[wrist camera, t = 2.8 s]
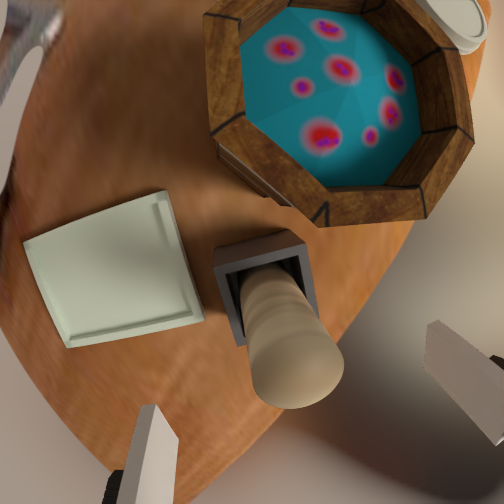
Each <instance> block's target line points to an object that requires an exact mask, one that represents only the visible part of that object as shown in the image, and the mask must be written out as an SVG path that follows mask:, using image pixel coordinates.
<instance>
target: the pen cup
mask: <svg viewBox="0 0 504 504" xmlns="http://www.w3.org/2000/svg"><path fill="white" fill-rule="evenodd" d="M277 260H281V261H282V263H283V264H284V266H285V267H286V269H287V270H288V272H289V273H290V275H291V276H292V278H293V279H294V281H295V282H296V284H297V286H298V287H299V289H300V290H301V292H302V293H303V295H304V296H305V298H306V299H307V301H308V302H309V304H310V305H311V307H312V308H313V310H314V312H315V313H316V315H317V316H318V318H319V313H318V307H317V301H316V295H315V290H314V284H313V279H312V273H311V268H310V262H309V257H308V252H307V247H306V243H305V242H304V241H303V240H302V239H300V238H299V237H298V236H297V235H296V234H295V233H293V232H292V231H291V230H290V229H287V230H283V231H280V232H276V233H272V234H268V235H264V236H260V237H256V238H253V239H249V240H245V241H241V242H237V243H233V244H230V245H226V246H222V247H218V248H215V249H214V258H213V271H214V274H215V277H216V281H217V284H218V287H219V291H220V294H221V297H222V300H223V303H224V307H225V310H226V313H227V316H228V319H229V322H230V326H231V329H232V332H233V335H234V338H235V341H236V344H237V347H238V346H242V345H246V344H247V343H246V336H245V330H244V323H243V316H242V310H241V303H240V296H239V289H238V282H237V273H238V271H239V270H243V269H247V268H251V267H255V266H258V265H262V264H266V263H270V262H273V261H277Z"/></svg>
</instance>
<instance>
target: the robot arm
mask: <svg viewBox="0 0 504 504" xmlns="http://www.w3.org/2000/svg"><path fill="white" fill-rule="evenodd" d="M424 369H425V370H426V371H427V372H428V373H429V374H430V375H431V376H432V377H433V378H434V379H435V380H436V381H437V382H438V383H439V384H440V386H442V388H443V389H444V390H445V391H446V392H447V393H448V394H449V395H450V396H451V397H452V398H453V399H454V400H455V401H456V402H457V404H459V406H460V407H461V408H462V409H463V410H464V411H465V412H466V413H467V414H468V416H469V417H470V418H471V419H472V420H473V421H474V422H475V423H476V424H477V426H478V427H479V428H480V429H481V430H482V431H483V432H484V433H485V434H486V436H487V437H488V438H489V439H490V440H491V441H492V442H493V443H494V445H495V446H497V445H498V444H499V443H500V442H501V441H503V440H504V359H503V358H501V357H498V356H495V355H493V356H491V357H490V358H488V357H486V356H485V355H484V354H483V353H481V352H480V351H479V350H478V349H476V348H475V347H474V346H472V345H471V344H470V343H468V342H467V341H466V340H464V339H463V338H462V337H461V336H459V335H458V334H457V333H456V332H454V331H453V330H451V329H450V328H449V327H448V326H446V325H445V324H443V323H442V322H441V321H439V320H437V321H435V322H433V323H431V324H428V325H427V332H426V346H425V357H424ZM178 442H179V439H178V438H177V436H176V435H175V433H174V432H173V430H172V429H171V427H170V426H169V424H168V423H167V421H166V419H165V418H164V416H163V414H162V413H161V411H160V409H159V408H158V406H157V404H149V405H141V409H140V412H139V416H138V419H137V423H136V426H135V430H134V434H133V437H132V441H131V445H130V449H129V453H128V456H127V460H126V464H125V468H124V470H114V472H113V473H112V474H111V476H110V477H109V478H108V482H107V486H106V490H105V493H104V498H103V501H102V504H173V492H174V481H175V471H176V461H177V451H178Z"/></svg>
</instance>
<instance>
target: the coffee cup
mask: <svg viewBox="0 0 504 504" xmlns="http://www.w3.org/2000/svg"><path fill="white" fill-rule="evenodd" d="M414 1H416V2H417V3H418V4H419V5H420V6H421V7H422V8H423V9H424V10H425V11H426V12H427V14H428V15H429V16H430V17H431V18H432V19H433V20H434V21H435V22H436V23H437V24H438V25H439V27H440V28H441V29H442V30H443V31H444V32H445V33H446V35H447V36H448V37H449V38H450V39H451V40H452V42H453V43H454V44H455V45H456V47H457V48H458V49H459V53H460V54H462V55H466V54H470V53H472V52H473V51H474V50H476V49H477V48H478V47H479V46H480V44H481V43H482V42H483V41H484V40H485V38H486V36H487V23H486V20H485V17H484V14H483V12H482V10H481V8H480V6H479V4H478V2H477V1H476V0H414Z"/></svg>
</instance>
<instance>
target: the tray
mask: <svg viewBox="0 0 504 504" xmlns="http://www.w3.org/2000/svg"><path fill="white" fill-rule="evenodd" d="M23 245H24V248H25V251H26V254H27V257H28V260H29V263H30V266H31V269H32V271H33V274H34V277H35V279H36V282H37V285H38V287H39V290H40V292H41V294H42V297H43V299H44V302H45V304H46V306H47V308H48V311H49V313H50V315H51V317H52V319H53V321H54V324H55V326H56V328H57V330H58V332H59V334H60V336H61V338H62V340H63V342H64V344H65V346H66V347H67V348H72V347H78V346H84V345H90V344H96V343H101V342H107V341H112V340H117V339H123V338H128V337H133V336H138V335H143V334H148V333H152V332H157V331H162V330H166V329H171V328H176V327H180V326H184V325H189V324H193V323H198V322H202V321H205V311H204V308H203V305H202V302H201V299H200V296H199V293H198V290H197V287H196V284H195V281H194V278H193V275H192V272H191V269H190V266H189V263H188V259H187V256H186V253H185V250H184V246H183V243H182V240H181V236H180V233H179V230H178V226H177V223H176V219H175V216H174V212H173V209H172V205H171V202H170V198H169V195H168V191H167V190H163V191H160V192H157V193H154V194H151V195H148V196H144V197H141V198H138V199H135V200H132V201H129V202H126V203H123V204H120V205H117V206H115V207H112V208H109V209H106V210H103V211H101V212H98V213H95V214H92V215H90V216H87V217H84V218H82V219H79V220H76V221H74V222H71V223H69V224H66V225H64V226H61V227H59V228H56V229H54V230H51V231H49V232H46V233H44V234H42V235H39V236H37V237H35V238H32V239H30V240H28V241H25V242H23Z"/></svg>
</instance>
